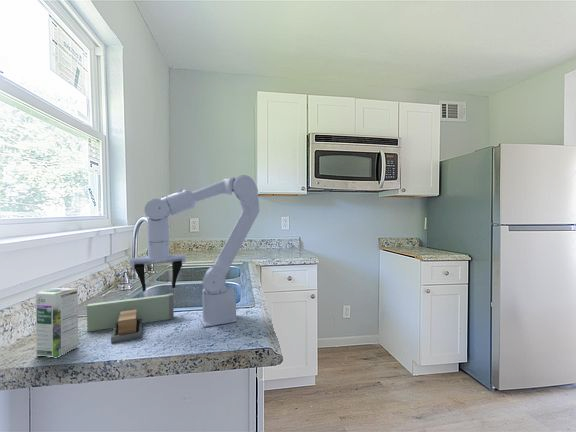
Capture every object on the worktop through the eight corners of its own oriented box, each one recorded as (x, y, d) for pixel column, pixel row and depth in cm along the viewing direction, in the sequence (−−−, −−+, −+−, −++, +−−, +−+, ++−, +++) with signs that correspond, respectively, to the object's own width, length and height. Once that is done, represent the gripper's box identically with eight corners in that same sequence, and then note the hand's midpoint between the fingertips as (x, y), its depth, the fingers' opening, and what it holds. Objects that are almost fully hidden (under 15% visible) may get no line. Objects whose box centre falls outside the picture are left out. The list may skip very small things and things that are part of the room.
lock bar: (136, 337, 76) (135, 318, 76) (118, 340, 75) (118, 321, 75) (136, 326, 84) (136, 309, 83) (120, 329, 82) (120, 311, 82)
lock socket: (141, 323, 85) (141, 318, 85) (141, 337, 76) (141, 332, 76) (115, 328, 82) (115, 322, 82) (111, 343, 73) (111, 337, 73)
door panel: (173, 316, 92) (172, 293, 92) (173, 318, 89) (173, 294, 89) (88, 328, 82) (88, 303, 82) (87, 331, 80) (86, 305, 80)
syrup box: (34, 357, 66) (33, 293, 66) (59, 345, 72) (58, 286, 72) (56, 359, 65) (55, 293, 65) (79, 347, 71) (78, 287, 71)
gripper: (183, 239, 91) (184, 283, 91) (130, 241, 84) (131, 288, 85) (186, 241, 84) (187, 288, 85) (129, 243, 78) (129, 294, 78)
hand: (159, 288), depth 84 cm, fingers open, 7 cm apart
